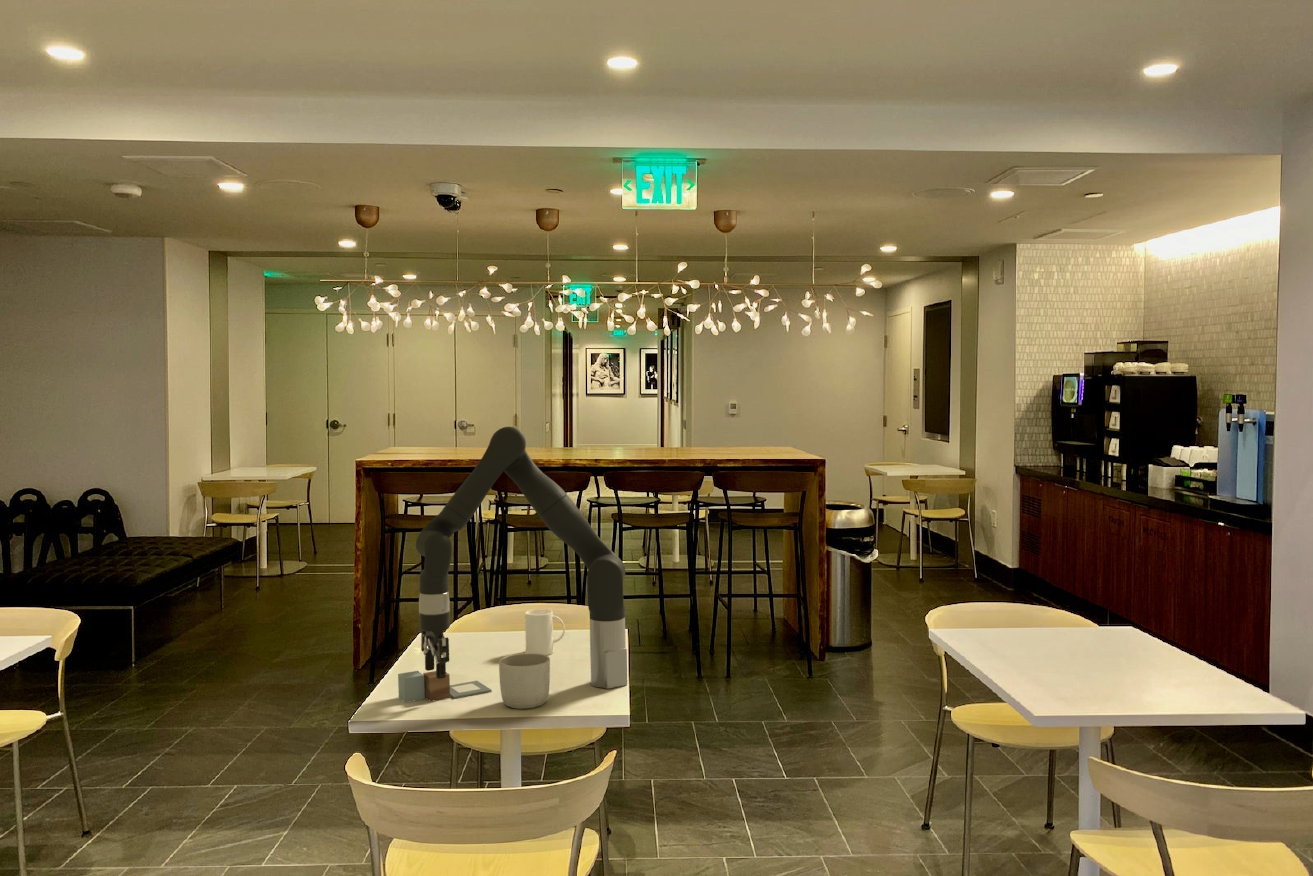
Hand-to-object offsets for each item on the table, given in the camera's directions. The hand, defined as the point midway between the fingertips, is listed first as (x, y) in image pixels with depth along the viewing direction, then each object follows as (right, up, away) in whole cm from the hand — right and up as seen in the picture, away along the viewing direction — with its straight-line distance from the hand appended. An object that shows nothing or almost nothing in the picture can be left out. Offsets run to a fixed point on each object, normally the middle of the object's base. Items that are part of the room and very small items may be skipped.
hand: (435, 674), depth 238 cm
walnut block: (0, -6, 0) cm, 6 cm away
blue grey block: (-6, -6, -1) cm, 8 cm away
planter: (+24, -6, -7) cm, 25 cm away
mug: (+23, -4, +41) cm, 47 cm away
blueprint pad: (+7, -5, +5) cm, 10 cm away
